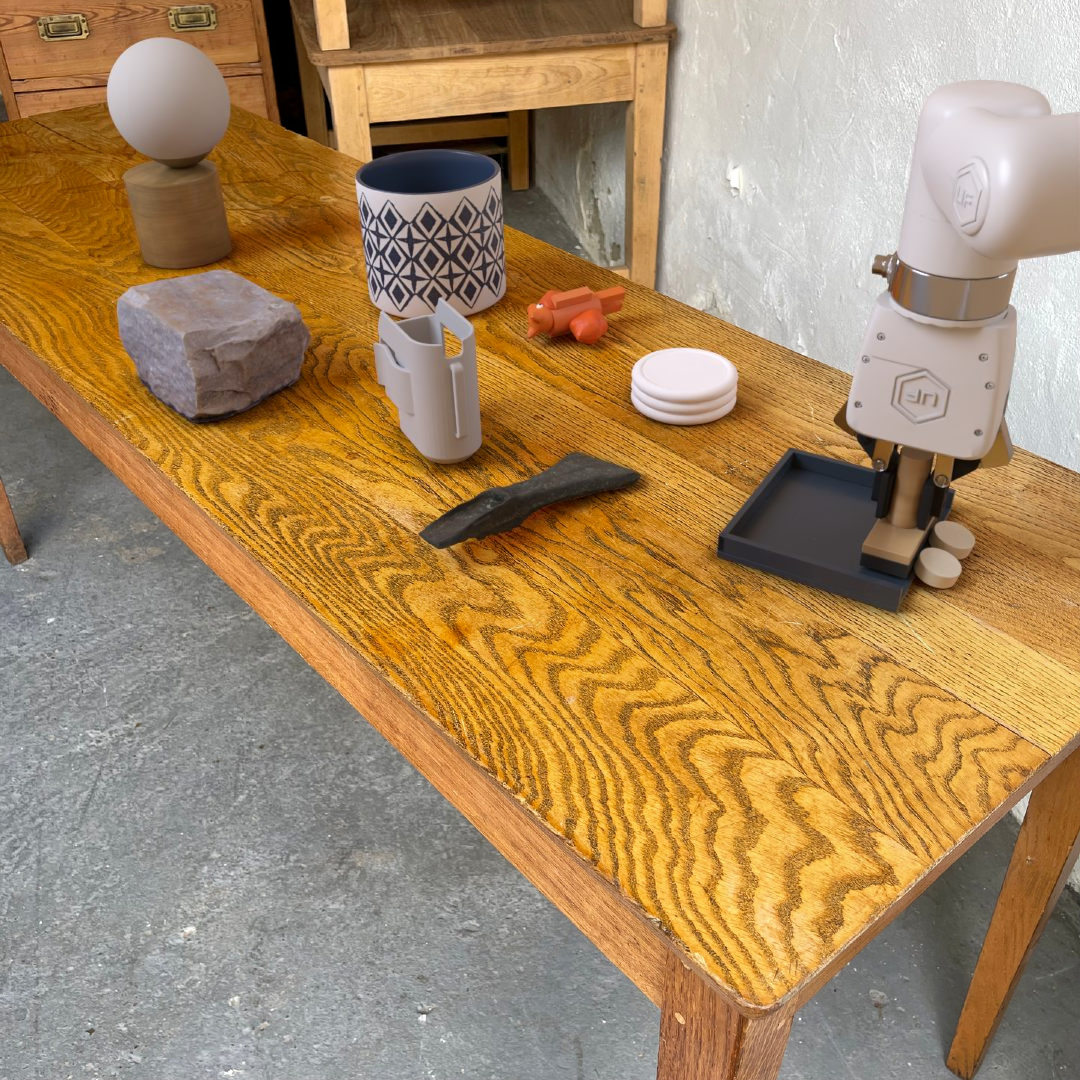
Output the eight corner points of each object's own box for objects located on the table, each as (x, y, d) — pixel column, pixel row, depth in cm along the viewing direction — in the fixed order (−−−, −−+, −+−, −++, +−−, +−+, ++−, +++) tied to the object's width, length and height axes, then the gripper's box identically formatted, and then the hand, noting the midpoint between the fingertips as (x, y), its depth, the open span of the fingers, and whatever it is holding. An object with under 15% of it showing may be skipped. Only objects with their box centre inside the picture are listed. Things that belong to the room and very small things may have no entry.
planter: (527, 307, 125) (522, 180, 117) (392, 334, 120) (377, 203, 112) (479, 260, 137) (471, 141, 129) (354, 282, 132) (338, 161, 124)
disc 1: (973, 544, 86) (980, 533, 85) (963, 566, 84) (969, 554, 83) (934, 526, 87) (940, 514, 86) (923, 547, 85) (929, 535, 84)
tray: (951, 511, 90) (956, 489, 89) (896, 613, 79) (900, 590, 78) (787, 467, 96) (789, 446, 95) (716, 557, 86) (718, 535, 84)
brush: (938, 518, 87) (958, 430, 83) (905, 579, 81) (924, 487, 76) (894, 506, 89) (911, 419, 84) (858, 565, 83) (874, 474, 78)
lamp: (190, 222, 151) (148, 23, 137) (276, 234, 147) (242, 30, 132) (114, 261, 140) (59, 49, 126) (205, 275, 135) (159, 57, 121)
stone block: (333, 298, 108) (195, 313, 97) (330, 411, 112) (198, 436, 102) (237, 264, 117) (102, 274, 107) (238, 369, 122) (109, 388, 112)
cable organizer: (442, 405, 107) (431, 287, 100) (497, 463, 98) (490, 338, 91) (377, 422, 104) (362, 303, 97) (428, 483, 95) (415, 357, 88)
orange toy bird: (612, 264, 119) (516, 289, 115) (649, 307, 116) (551, 334, 111) (604, 301, 123) (510, 326, 119) (639, 343, 120) (544, 371, 115)
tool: (580, 465, 100) (580, 433, 98) (646, 489, 95) (647, 457, 93) (400, 545, 87) (397, 509, 85) (466, 578, 82) (464, 542, 80)
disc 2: (960, 572, 83) (966, 561, 82) (948, 595, 81) (955, 583, 80) (920, 552, 84) (926, 541, 83) (907, 574, 82) (914, 563, 81)
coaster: (659, 436, 101) (661, 402, 99) (613, 389, 108) (614, 357, 106) (755, 414, 104) (758, 380, 102) (704, 370, 111) (706, 338, 109)
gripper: (813, 282, 74) (785, 511, 84) (1070, 330, 67) (1004, 573, 77) (850, 246, 79) (819, 466, 90) (1091, 287, 72) (1027, 520, 83)
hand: (905, 513), depth 83 cm, fingers closed on brush, 2 cm apart
